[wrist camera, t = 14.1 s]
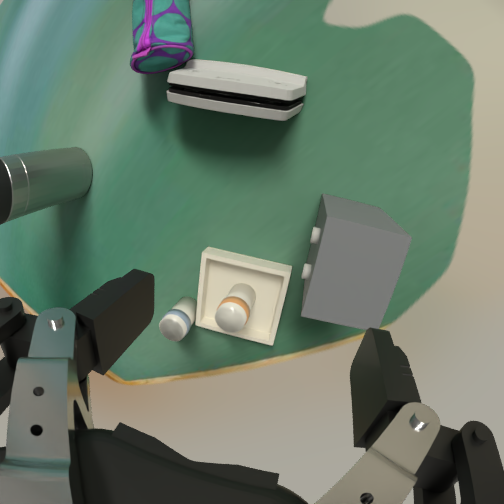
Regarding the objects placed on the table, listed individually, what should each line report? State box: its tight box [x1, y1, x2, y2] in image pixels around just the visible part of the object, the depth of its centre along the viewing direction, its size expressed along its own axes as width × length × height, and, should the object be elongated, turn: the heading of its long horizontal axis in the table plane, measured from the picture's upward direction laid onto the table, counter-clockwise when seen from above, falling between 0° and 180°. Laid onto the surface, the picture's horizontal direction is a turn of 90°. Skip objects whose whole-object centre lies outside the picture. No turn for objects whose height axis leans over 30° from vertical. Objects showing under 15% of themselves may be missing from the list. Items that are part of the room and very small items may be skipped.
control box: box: [301, 194, 412, 330], centre depth 32 cm, size 9×10×14 cm
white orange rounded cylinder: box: [215, 283, 256, 333], centre depth 41 cm, size 4×4×7 cm
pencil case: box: [130, 0, 194, 74], centre depth 28 cm, size 21×9×10 cm, turn 8°
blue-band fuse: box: [159, 297, 197, 341], centre depth 44 cm, size 4×4×7 cm
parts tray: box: [195, 247, 292, 346], centre depth 43 cm, size 12×12×2 cm
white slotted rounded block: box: [167, 59, 307, 121], centre depth 31 cm, size 17×5×10 cm, turn 77°
